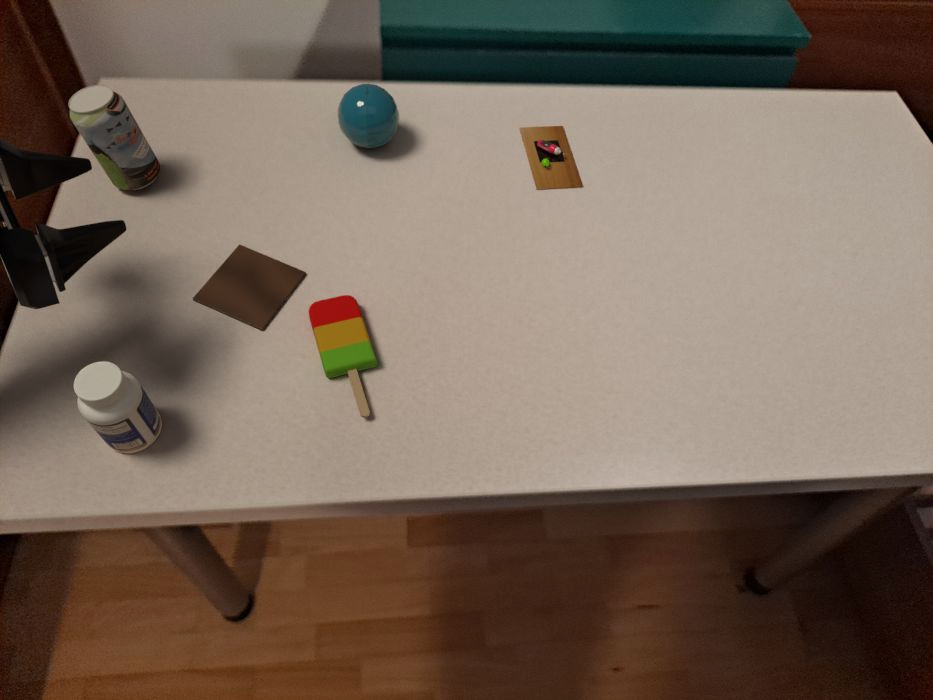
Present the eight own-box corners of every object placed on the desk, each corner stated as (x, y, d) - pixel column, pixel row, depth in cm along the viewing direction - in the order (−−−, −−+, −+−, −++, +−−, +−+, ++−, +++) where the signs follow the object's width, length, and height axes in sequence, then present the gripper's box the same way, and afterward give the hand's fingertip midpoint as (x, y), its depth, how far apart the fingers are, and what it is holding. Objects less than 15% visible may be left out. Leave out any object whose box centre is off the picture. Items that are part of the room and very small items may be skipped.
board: (536, 189, 90) (538, 181, 89) (519, 128, 96) (520, 119, 95) (582, 187, 91) (585, 178, 90) (562, 127, 97) (564, 118, 96)
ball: (400, 122, 95) (399, 71, 88) (398, 162, 91) (398, 112, 84) (341, 120, 94) (337, 68, 88) (337, 160, 90) (332, 109, 83)
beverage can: (157, 198, 84) (123, 117, 74) (95, 194, 84) (53, 112, 74) (169, 162, 87) (139, 81, 77) (110, 159, 87) (72, 76, 77)
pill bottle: (134, 396, 69) (98, 344, 61) (174, 422, 68) (143, 372, 60) (92, 437, 67) (49, 388, 59) (134, 464, 66) (96, 418, 57)
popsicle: (355, 300, 78) (354, 290, 76) (392, 413, 71) (392, 404, 69) (307, 311, 77) (305, 302, 75) (339, 427, 69) (338, 419, 68)
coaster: (262, 331, 75) (262, 329, 75) (193, 300, 76) (192, 298, 76) (306, 274, 80) (305, 272, 79) (240, 246, 81) (239, 244, 81)
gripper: (-108, 235, 46) (132, 187, 54) (-161, 82, 54) (57, 59, 62) (-52, 338, 55) (148, 283, 63) (-105, 193, 62) (80, 160, 70)
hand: (107, 193), depth 64 cm, fingers open, 9 cm apart
